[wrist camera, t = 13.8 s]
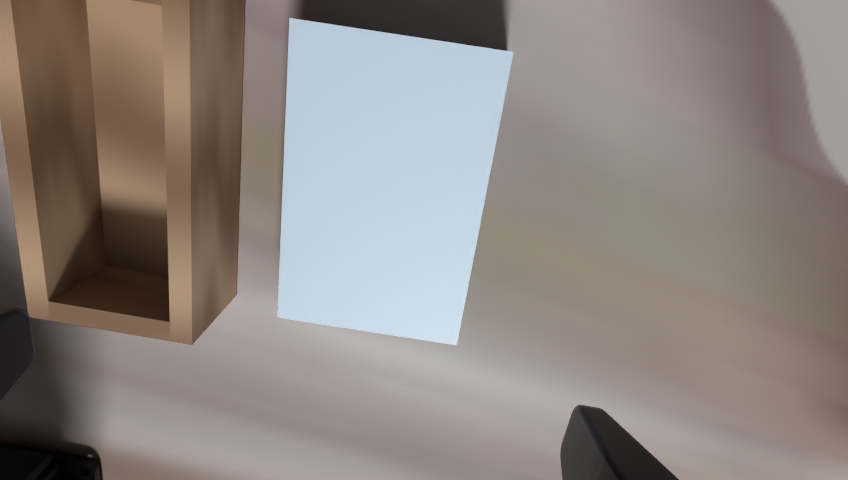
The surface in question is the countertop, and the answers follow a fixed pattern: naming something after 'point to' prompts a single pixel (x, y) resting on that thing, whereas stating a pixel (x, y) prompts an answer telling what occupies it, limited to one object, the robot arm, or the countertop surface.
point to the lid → (384, 177)
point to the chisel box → (125, 159)
